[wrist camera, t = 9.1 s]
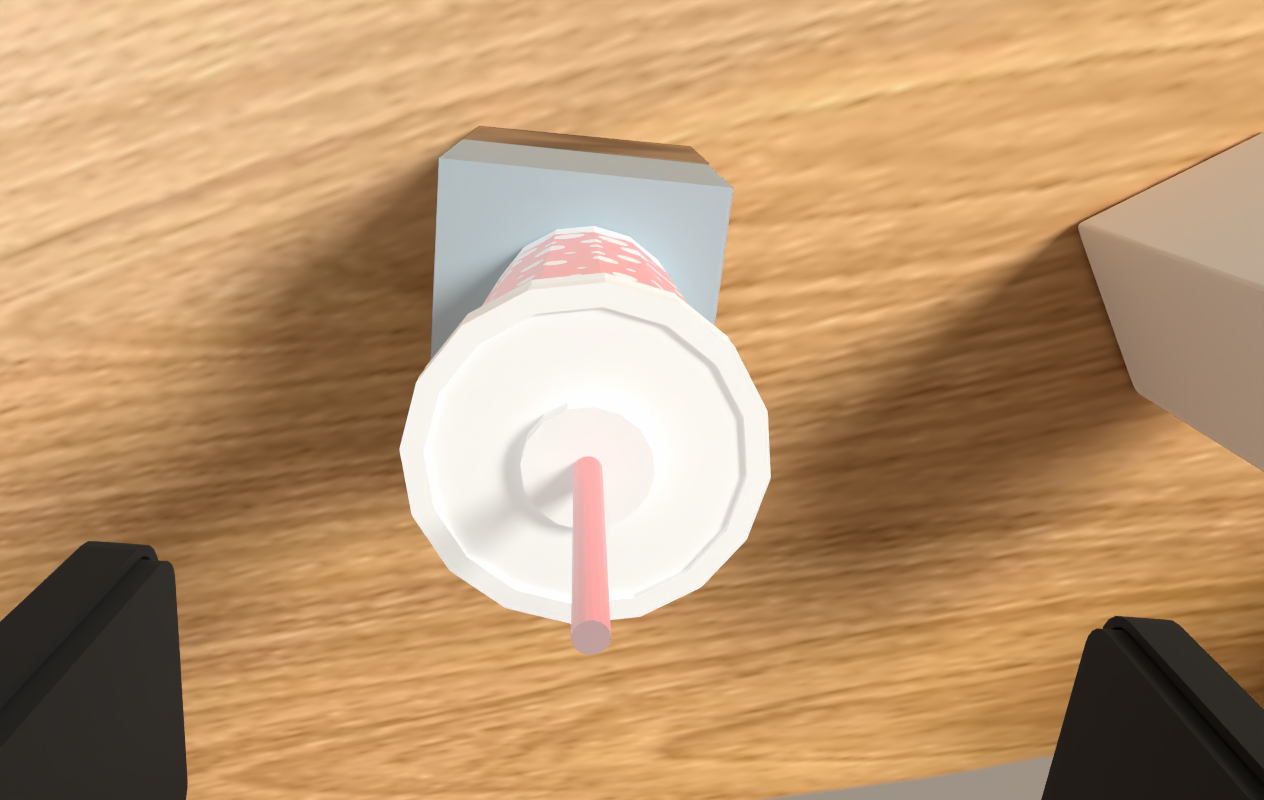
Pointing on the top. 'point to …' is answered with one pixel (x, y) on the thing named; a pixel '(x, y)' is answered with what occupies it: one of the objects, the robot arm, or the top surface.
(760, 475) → the beverage cup
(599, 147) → the bottom block
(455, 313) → the top block
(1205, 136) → the top surface
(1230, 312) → the milk carton
